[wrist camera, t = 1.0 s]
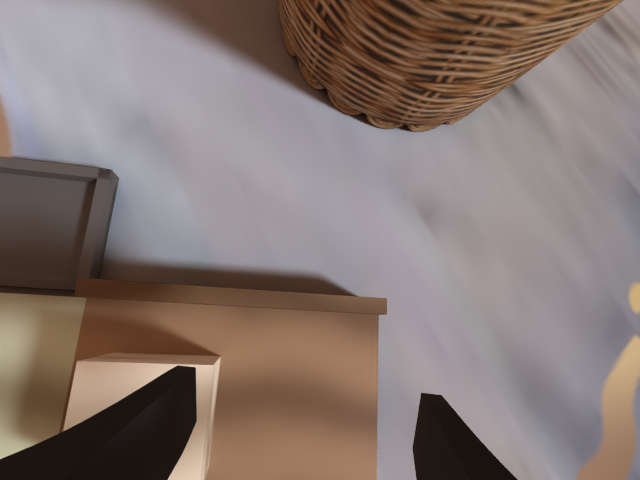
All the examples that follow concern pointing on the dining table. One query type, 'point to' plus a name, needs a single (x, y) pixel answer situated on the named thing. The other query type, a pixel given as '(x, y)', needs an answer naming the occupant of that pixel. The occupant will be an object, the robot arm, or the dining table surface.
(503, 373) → the dining table surface
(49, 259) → the grey flat board
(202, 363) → the cream block
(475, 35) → the wicker basket
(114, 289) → the brown tray with rims
